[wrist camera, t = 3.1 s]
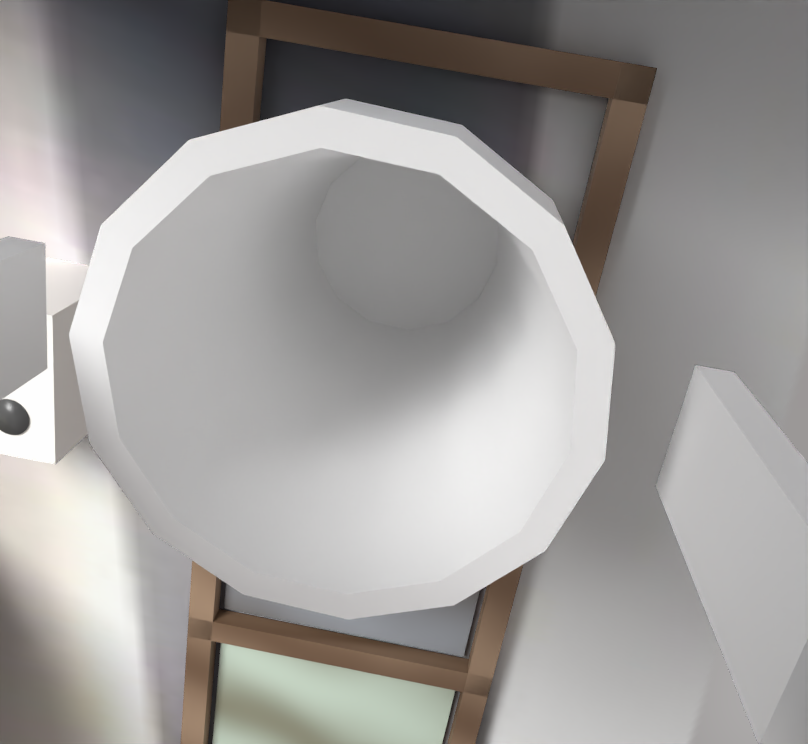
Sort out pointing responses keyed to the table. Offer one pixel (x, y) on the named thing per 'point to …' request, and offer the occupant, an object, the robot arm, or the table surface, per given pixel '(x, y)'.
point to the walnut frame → (428, 629)
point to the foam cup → (344, 360)
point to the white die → (49, 380)
